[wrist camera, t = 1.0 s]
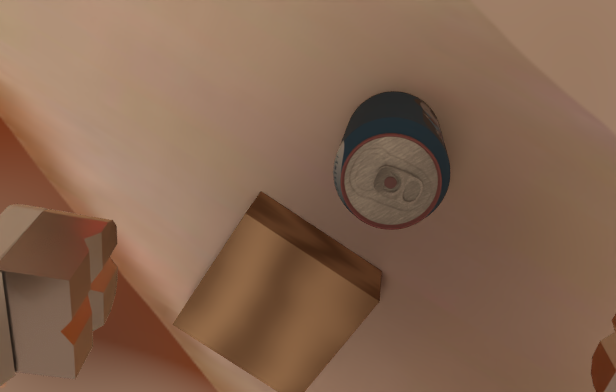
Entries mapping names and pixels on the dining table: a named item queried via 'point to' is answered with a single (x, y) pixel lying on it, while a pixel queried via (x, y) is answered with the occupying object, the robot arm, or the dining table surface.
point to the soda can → (392, 162)
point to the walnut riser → (280, 298)
